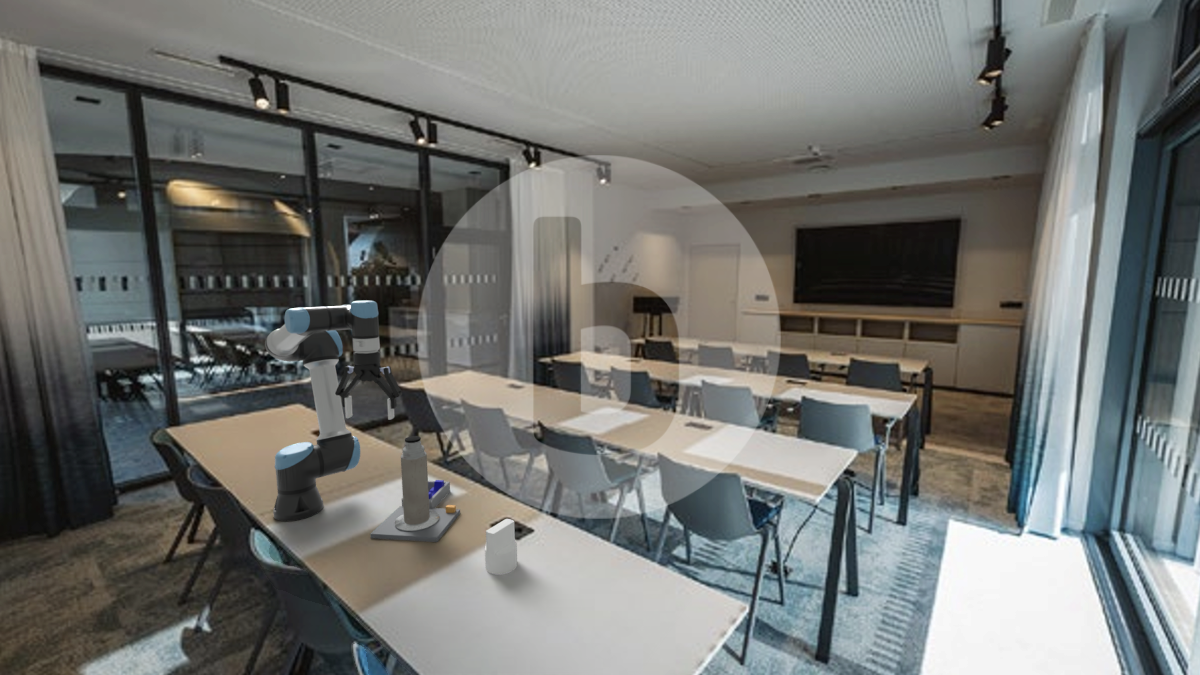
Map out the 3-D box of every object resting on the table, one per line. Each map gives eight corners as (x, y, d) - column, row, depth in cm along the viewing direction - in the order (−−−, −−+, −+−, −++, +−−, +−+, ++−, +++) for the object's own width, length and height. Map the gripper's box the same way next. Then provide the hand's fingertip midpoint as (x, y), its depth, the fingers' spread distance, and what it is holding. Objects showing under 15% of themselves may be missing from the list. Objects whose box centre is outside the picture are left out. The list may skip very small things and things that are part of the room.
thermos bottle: (416, 511, 175) (412, 432, 171) (434, 516, 172) (431, 435, 168) (398, 522, 168) (394, 439, 164) (417, 527, 165) (413, 443, 161)
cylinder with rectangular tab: (502, 578, 141) (501, 537, 139) (478, 568, 146) (477, 528, 144) (523, 562, 148) (522, 523, 147) (500, 553, 153) (499, 515, 152)
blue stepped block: (433, 494, 193) (432, 479, 193) (444, 495, 193) (443, 480, 192) (418, 509, 182) (417, 493, 181) (430, 510, 181) (429, 494, 180)
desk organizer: (402, 509, 181) (401, 498, 181) (422, 490, 197) (422, 480, 196) (431, 511, 180) (431, 500, 179) (450, 491, 196) (449, 481, 195)
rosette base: (370, 538, 162) (369, 527, 162) (400, 510, 181) (399, 500, 180) (437, 542, 160) (436, 531, 159) (460, 513, 178) (459, 503, 178)
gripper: (320, 352, 155) (324, 420, 158) (400, 354, 153) (403, 422, 156) (334, 348, 162) (338, 413, 165) (411, 350, 161) (414, 415, 164)
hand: (370, 417), depth 161 cm, fingers open, 13 cm apart
